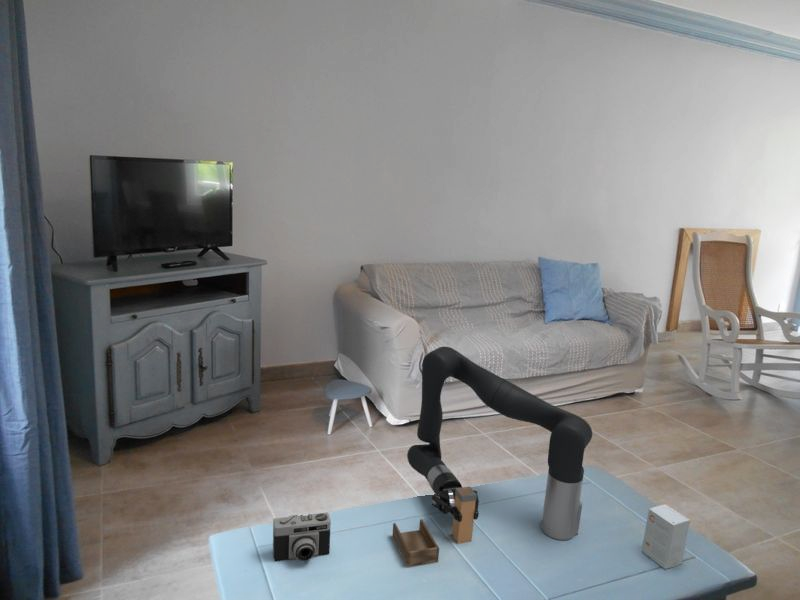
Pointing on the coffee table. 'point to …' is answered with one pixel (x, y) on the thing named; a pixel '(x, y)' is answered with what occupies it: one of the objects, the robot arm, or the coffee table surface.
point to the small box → (665, 536)
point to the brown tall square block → (464, 514)
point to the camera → (301, 536)
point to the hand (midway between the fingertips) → (468, 517)
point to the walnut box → (416, 545)
